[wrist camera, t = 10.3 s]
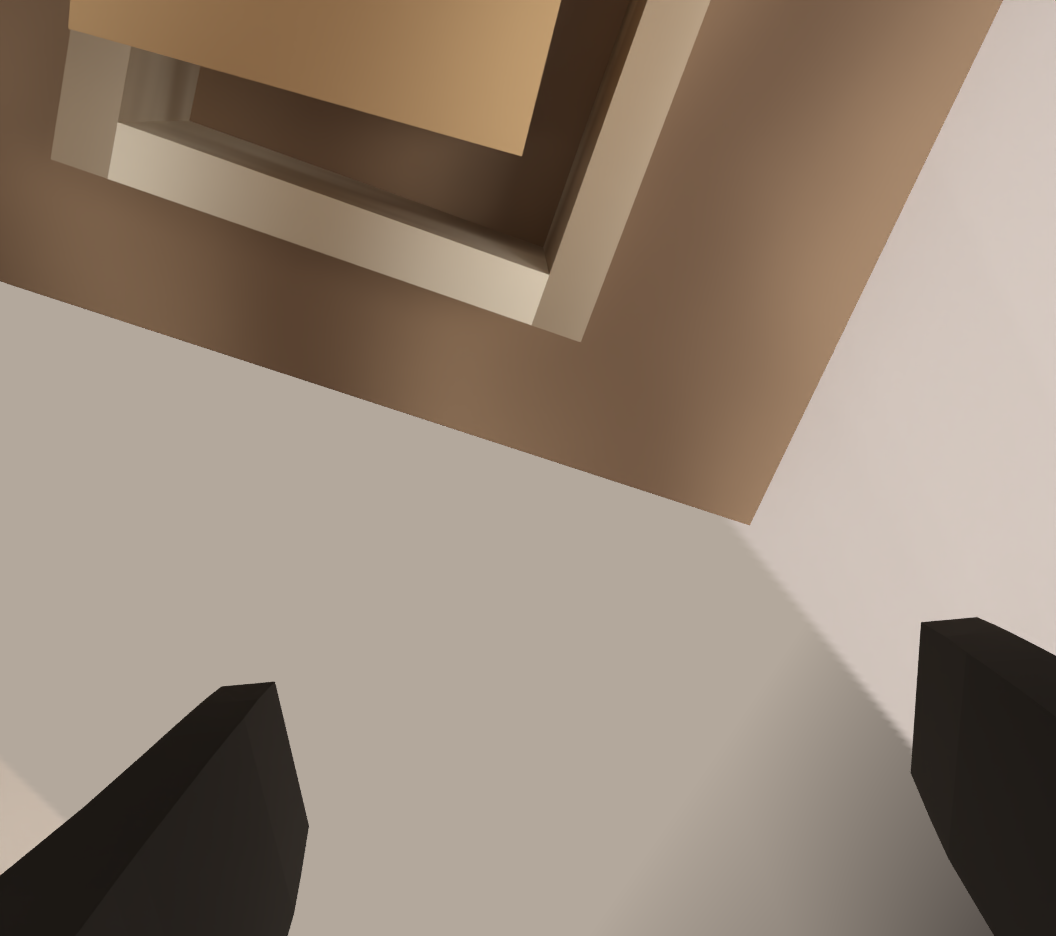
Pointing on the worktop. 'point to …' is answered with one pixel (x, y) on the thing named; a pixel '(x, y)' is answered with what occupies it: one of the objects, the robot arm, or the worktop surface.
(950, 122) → the worktop surface
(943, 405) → the worktop surface
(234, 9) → the oak peg
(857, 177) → the walnut board
